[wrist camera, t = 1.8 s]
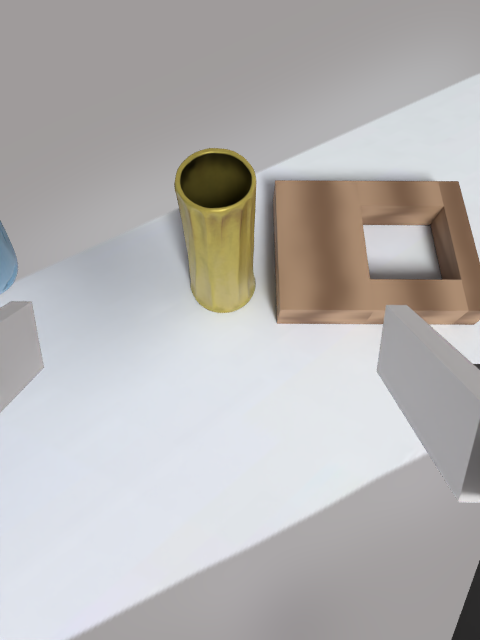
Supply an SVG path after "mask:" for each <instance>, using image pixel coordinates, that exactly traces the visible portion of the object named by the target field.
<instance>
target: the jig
mask: <svg viewBox="0 0 480 640" xmlns="http://www.w3.org/2000/svg"><path fill="white" fill-rule="evenodd" d="M273 214H274V244H275V274H276V304H277V324H383V323H384V316H385V309H386V305H407V306H408V307H410V308H411V309H412V310H413V311H414V312H415V313H416V314H417V315H419V316H420V317H421V318H422V319H423V320H424V321H425V322H426V323H428V324H465V325H474V324H475V323H477V322H478V321H479V320H480V262H479V258H478V254H477V251H476V247H475V243H474V239H473V235H472V231H471V228H470V224H469V220H468V216H467V212H466V209H465V205H464V201H463V197H462V193H461V189H460V186H459V182H458V181H275V188H274V197H273ZM363 225H431V230H432V234H433V239H434V244H435V248H436V253H437V258H438V262H439V267H440V272H441V276H442V280H425V279H370V275H369V267H368V260H367V253H366V245H365V238H364V231H363Z"/></svg>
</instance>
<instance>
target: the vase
mask: <svg viewBox="0 0 480 640" xmlns="http://www.w3.org/2000/svg"><path fill="white" fill-rule="evenodd" d="M174 185H175V192H176V195H177V200H178V205H179V210H180V215H181V219H182V224H183V230H184V236H185V243H186V247H187V251H188V259H189V270H190V277H191V290H192V293H193V295H194V297H195V299H196V300H197V302H198V303H199V304H200V305H202V306H203V307H204V308H206V309H208V310H210V311H213V312H218V313H227V312H233V311H236V310H238V309H240V308H242V307H243V306H244V305H246V304H247V303H248V302H249V300H250V299H251V297H252V296H253V293H254V291H255V277H254V273H253V253H254V223H255V201H256V176H255V172H254V169H253V168H252V166H251V165H250V164H249V163H248V161H247V160H246V159H245V158H244V157H243V156H241V155H239V154H238V153H236V152H234V151H231V150H227V149H218V148H209V149H204V150H201V151H198V152H196V153H194V154H192V155H190V156H189V157H188V158H187V159H186V160H184V161H183V163H182V164H181V165H180V166H179V168H178V170H177V173H176V178H175V184H174Z"/></svg>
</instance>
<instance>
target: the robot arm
mask: <svg viewBox="0 0 480 640" xmlns="http://www.w3.org/2000/svg"><path fill="white" fill-rule="evenodd" d="M17 271H18V263H17V258H16V255H15V252H14V249H13V247H12V244H11V242H10V240H9V238H8V235H7V233H6V231H5V229H4V227H3V225H2V223H1V221H0V294H2V293H3V292H5V291H6V290H7V289H8V288H9V287H11V285H12V284H13V283H14V281H15V279H16V276H17ZM43 368H44V365H43V360H42V354H41V349H40V344H39V338H38V333H37V328H36V322H35V317H34V312H33V306H32V302H22V301H11V302H9V303H8V304H6V305H4V306H3V307H1V308H0V412H1V411H2V410H3V409H4V408H5V407H6V406H7V405H8V404H9V403H10V402H11V401H12V400H13V399H14V398H15V397H16V396H17V395H18V394H19V393H20V392H21V391H22V390H23V389H24V388H25V387H26V386H27V385H28V384H29V383H30V382H31V381H32V380H33V378H34V377H35V376H36V375H37V374H38V373H39V372H40V371H41V370H42V369H43ZM377 373H378V374H379V376H380V377H381V379H382V381H383V382H384V384H385V385H386V387H387V389H388V390H389V392H390V393H391V395H392V397H393V398H394V400H395V401H396V403H397V405H398V406H399V408H400V409H401V411H402V413H403V414H404V416H405V417H406V419H407V421H408V422H409V424H410V425H411V427H412V429H413V430H414V432H415V433H416V435H417V437H418V438H419V440H420V441H421V443H422V445H423V446H424V448H425V449H426V451H427V453H428V454H429V456H430V457H431V459H432V461H433V462H434V464H435V465H436V467H437V469H438V470H439V472H440V473H441V475H442V477H443V478H444V480H445V481H446V483H447V485H448V486H449V488H450V489H451V491H452V493H453V494H454V496H455V497H456V499H457V501H458V502H480V364H472V363H471V362H470V361H469V360H468V359H467V358H466V357H465V356H463V355H462V354H461V353H460V352H459V351H458V350H457V349H456V348H454V347H453V346H452V345H451V344H450V343H449V342H448V341H447V340H445V339H444V338H443V337H442V336H441V335H440V334H439V333H438V332H436V331H435V330H434V329H433V328H432V327H431V326H430V325H429V324H428V323H426V322H425V321H424V320H423V319H422V318H421V317H420V316H419V315H417V314H416V313H415V312H414V311H413V310H412V309H411V308H410V307H408V306H407V305H386V309H385V316H384V323H383V330H382V337H381V344H380V351H379V358H378V365H377ZM452 640H480V561H479V564H478V567H477V570H476V572H475V576H474V578H473V581H472V584H471V587H470V590H469V592H468V595H467V598H466V600H465V603H464V606H463V609H462V612H461V614H460V617H459V620H458V623H457V626H456V629H455V631H454V634H453V637H452Z"/></svg>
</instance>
